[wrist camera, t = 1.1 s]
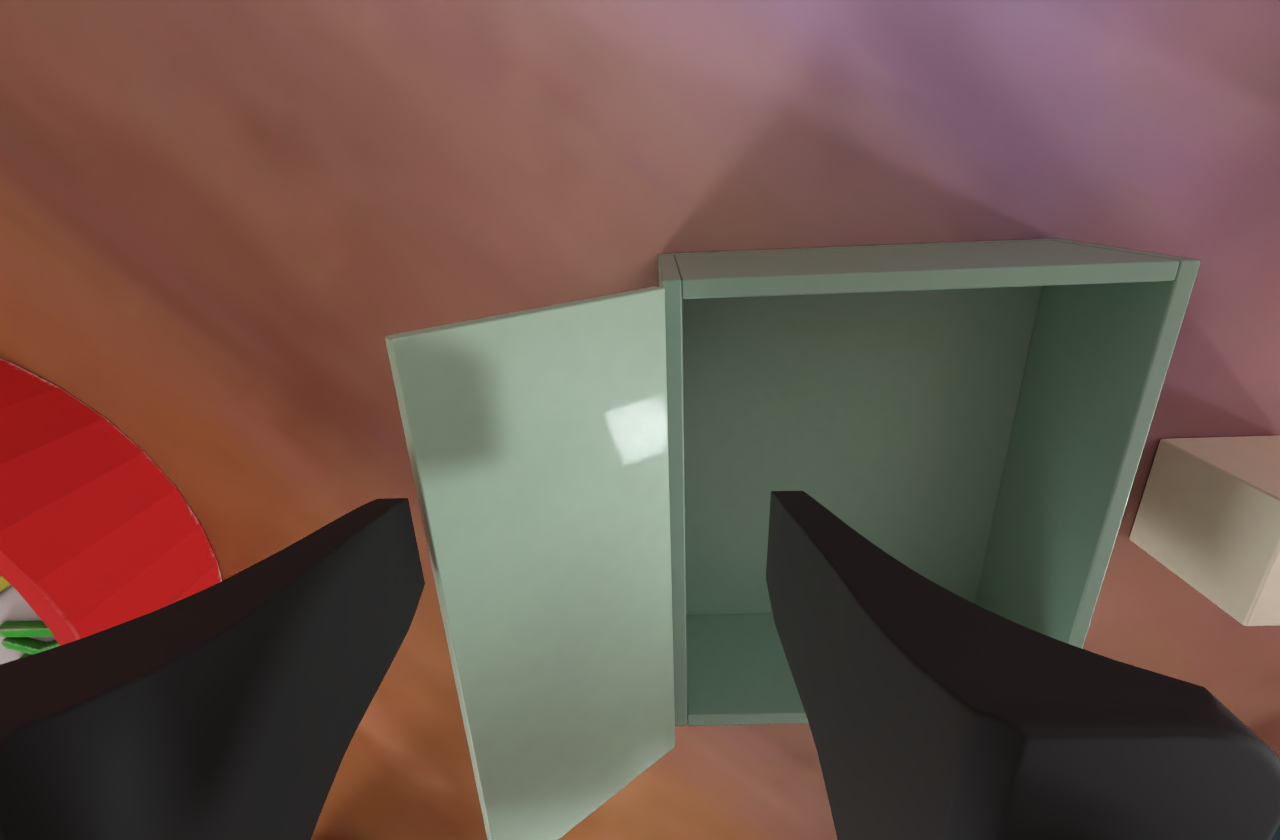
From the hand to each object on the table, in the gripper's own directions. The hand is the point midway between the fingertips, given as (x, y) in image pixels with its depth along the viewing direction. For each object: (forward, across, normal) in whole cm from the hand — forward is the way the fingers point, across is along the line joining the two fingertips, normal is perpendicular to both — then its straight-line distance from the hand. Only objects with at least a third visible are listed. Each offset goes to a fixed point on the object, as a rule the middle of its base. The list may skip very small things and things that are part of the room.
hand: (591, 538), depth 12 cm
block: (+10, -22, +5) cm, 25 cm away
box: (+10, -8, +3) cm, 14 cm away
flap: (+2, +1, +3) cm, 4 cm away
